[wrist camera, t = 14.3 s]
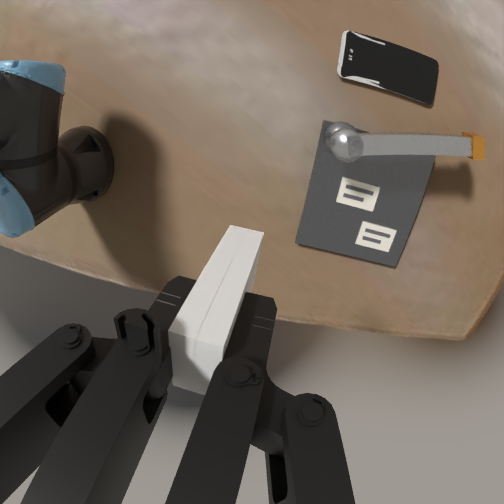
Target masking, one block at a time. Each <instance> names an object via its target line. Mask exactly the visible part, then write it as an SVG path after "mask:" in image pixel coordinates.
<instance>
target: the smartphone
mask: <svg viewBox="0 0 504 504" xmlns="http://www.w3.org/2000/svg"><path fill="white" fill-rule="evenodd" d="M438 67H439V65H438V62H437V61H436V60H435V59H433V58H430V57H428V56H425V55H423V54H420V53H418V52H415V51H413V50H410V49H408V48H405V47H402V46H399V45H396V44H393V43H390V42H387V41H384V40H381V39H378V38H375V37H371V36H368V35H364V34H360V33H357V32H353V31H345V32H344V33H343V35H342V41H341V48H340V55H339V61H338V68H337V74H338V75H339V76H340V77H341V78H345V79H349V80H353V81H357V82H361V83H364V84H368V85H371V86H375V87H378V88H381V89H385V90H388V91H391V92H394V93H397V94H400V95H403V96H406V97H409V98H411V99H414V100H417V101H419V102H422V103H425V104H432V102H433V99H434V93H435V87H436V81H437V74H438Z"/></svg>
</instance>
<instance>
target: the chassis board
mask: <svg viewBox="0 0 504 504" xmlns="http://www.w3.org/2000/svg"><path fill="white" fill-rule="evenodd" d="M341 128H348V129H351V130H353V131H355V132H356V133H370V132H366V131H363V130H360V129H356V128H354V127H353V126H352V125H350V124H348V123H346V122H335V123H334V122H330V121H326V120H323V124H322V129H321V133H320V138H319V143H318V147H317V152H316V156H315V161H314V165H313V170H312V174H311V179H310V183H309V187H308V191H307V196H306V200H305V204H304V208H303V212H302V216H301V220H300V224H299V229H298V233H297V236H296V241H295V243H298V244H302V245H306V246H310V247H315V248H319V249H323V250H327V251H332V252H336V253H340V254H344V255H348V256H352V257H357V258H361V259H365V260H369V261H373V262H377V263H381V264H385V265H389V266H393V267H395V266H396V264H397V262H398V260H399V257H400V255H401V253H402V250H403V248H404V245H405V243H406V241H407V238H408V236H409V233H410V231H411V228H412V225H413V223H414V220H415V217H416V215H417V212H418V209H419V207H420V204H421V201H422V198H423V195H424V192H425V189H426V186H427V183H428V180H429V177H430V174H431V170H432V167H433V164H434V160H435V157H436V156H434V155H367V156H361V157H360V158H359V159H357V160H356V161H354V162H343V161H341V160H339V159H338V158H336V157H335V155H334V154H333V152H332V150H331V147H330V138H331V136H332V134H333V133H334V132H335V131H336V130H338V129H341ZM342 177H346V178H349V179H353V180H357V181H360V182H364V183H367V184H371V185H374V186H378V187H380V190H379V194H378V197H377V200H376V203H375V206H374V209H373V212H372V211H368V210H365V209H361V208H357V207H354V206H350V205H346V204H342V203H338V202H336V199H337V196H338V192H339V188H340V185H341V181H342ZM363 221H365V222H369V223H372V224H376V225H380V226H383V227H387V228H390V229H394V230H396V234H395V237H394V239H393V242H392V244H391V247H390V249H389V252H385V251H382V250H378V249H374V248H370V247H366V246H362V245H358V244H355V242H356V239H357V236H358V234H359V231H360V228H361V225H362V222H363Z"/></svg>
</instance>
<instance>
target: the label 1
mask: <svg viewBox="0 0 504 504" xmlns="http://www.w3.org/2000/svg"><path fill="white" fill-rule="evenodd" d="M379 190H380V187H378V186H374V185H371V184H367V183H364V182H360V181H357V180H353V179H349V178H346V177H342V181H341V185H340V188H339V192H338V196H337V199H336V202H338V203H342V204H346V205H350V206H354V207H357V208H361V209H365V210H368V211H372V212H373V209H374V206H375V203H376V200H377V197H378V194H379Z"/></svg>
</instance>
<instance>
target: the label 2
mask: <svg viewBox="0 0 504 504" xmlns="http://www.w3.org/2000/svg"><path fill="white" fill-rule="evenodd" d="M395 234H396V230H394V229H390V228H387V227H383V226H380V225H376V224H372V223H369V222H365V221H363V222H362V225H361V228H360V231H359V234H358V236H357V239H356V242H355V244H358V245H362V246H366V247H370V248H374V249H378V250H382V251H385V252H389V249H390V247H391V244H392V242H393V239H394V237H395Z"/></svg>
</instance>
